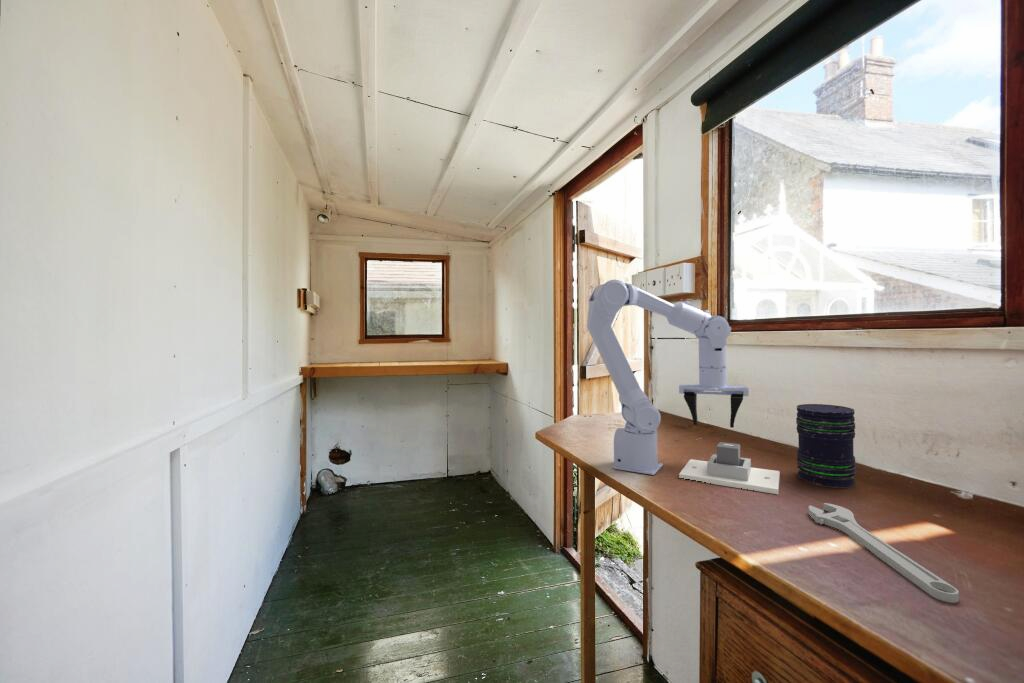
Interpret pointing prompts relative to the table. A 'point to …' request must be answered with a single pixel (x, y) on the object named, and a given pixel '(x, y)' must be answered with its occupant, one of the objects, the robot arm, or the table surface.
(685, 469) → the outlet plate
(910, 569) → the adjustable wrench
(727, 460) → the block
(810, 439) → the dark blue barrel
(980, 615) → the table surface
